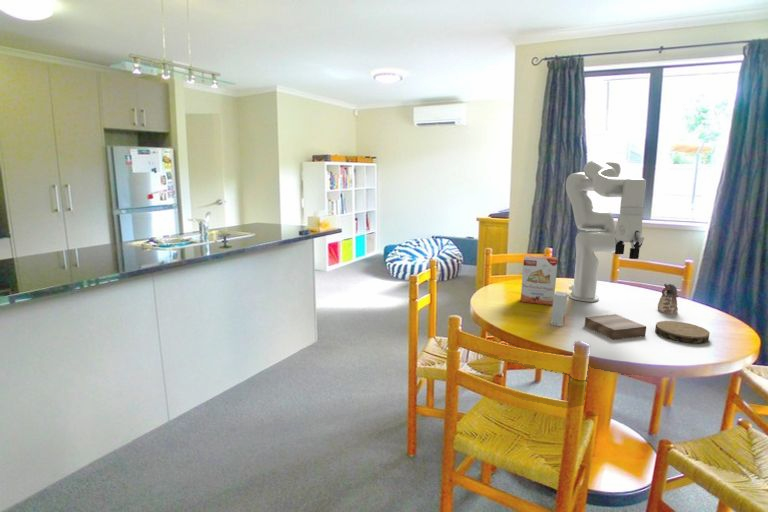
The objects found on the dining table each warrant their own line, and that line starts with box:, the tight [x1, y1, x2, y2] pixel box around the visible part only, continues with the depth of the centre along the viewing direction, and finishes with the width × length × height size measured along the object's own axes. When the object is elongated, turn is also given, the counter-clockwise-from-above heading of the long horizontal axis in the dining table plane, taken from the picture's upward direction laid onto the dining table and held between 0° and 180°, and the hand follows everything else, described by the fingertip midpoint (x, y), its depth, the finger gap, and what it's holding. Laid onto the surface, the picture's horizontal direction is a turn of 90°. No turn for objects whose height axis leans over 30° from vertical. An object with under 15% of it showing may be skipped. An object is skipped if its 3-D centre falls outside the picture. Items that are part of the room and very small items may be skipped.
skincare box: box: [550, 291, 569, 327], centre depth 164 cm, size 6×4×12 cm
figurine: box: [657, 283, 680, 315], centre depth 180 cm, size 7×7×12 cm
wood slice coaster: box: [654, 320, 710, 345], centre depth 153 cm, size 16×16×3 cm
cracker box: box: [520, 254, 559, 306], centre depth 190 cm, size 14×6×21 cm, turn 68°
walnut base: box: [584, 313, 647, 341], centre depth 157 cm, size 14×14×4 cm
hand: (626, 256), depth 163 cm, fingers open, 9 cm apart
